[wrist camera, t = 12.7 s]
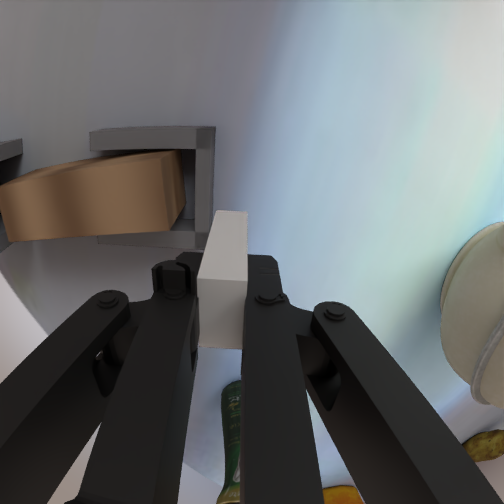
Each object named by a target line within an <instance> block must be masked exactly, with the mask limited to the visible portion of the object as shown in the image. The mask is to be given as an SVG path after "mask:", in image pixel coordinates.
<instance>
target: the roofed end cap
mask: <svg viewBox="0 0 504 504" xmlns="http://www.w3.org/2000/svg"><path fill="white" fill-rule="evenodd" d="M22 153H23V151H22V139H16V140H10V141H4V142H0V161H2V160H5V159H8V158H11V157H13V156H16V155H19V154H22ZM12 243H14V242H9V240H8V236H7V233H6V229H5V226H4V222H3V218H2V215H0V253H1V252H2V251H3V250H5V249H6V248H7V247H9V246H10V245H11V244H12Z"/></svg>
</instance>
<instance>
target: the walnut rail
mask: <svg viewBox="0 0 504 504" xmlns="http://www.w3.org/2000/svg"><path fill="white" fill-rule="evenodd" d="M185 204H186V197H185V187H184V178H183V167H182V156H181V149H153V150H145V151H137V152H129V153H122V154H116V155H109V156H103V157H97V158H91V159H85V160H80V161H75V162H69V163H64V164H59V165H55V166H50V167H45V168H41V169H36V170H34V171H31V172H29V173H27V174H25V175H22V176H20V177H18V178H16V179H13V180H11V181H9V182H7V183H5V184H3V185H1V186H0V210H1V214H2V218H3V222H4V226H5V229H6V233H7V236H8V240H9V242H18V241H29V240H41V239H53V238H66V237H80V236H94V235H108V234H123V233H139V232H156V231H169V230H170V229H171V227H172V225H173V224H174V222H175V220H176V219H177V217H178V215H179V214H180V212H181V210H182V209H183V207H184V205H185Z"/></svg>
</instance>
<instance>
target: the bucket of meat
mask: <svg viewBox="0 0 504 504" xmlns="http://www.w3.org/2000/svg"><path fill="white" fill-rule="evenodd" d="M322 490H323V496H324V503H325V504H363V501H362V499H361V497H360V495H359V493H358V491H357V489H356V488H355V487H353V486H345V485H340V486H334V487H328V488H324V489H322Z"/></svg>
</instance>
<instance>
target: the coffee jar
mask: <svg viewBox="0 0 504 504" xmlns="http://www.w3.org/2000/svg"><path fill="white" fill-rule="evenodd" d="M221 413H222V426H223V436H224V449H225V482H224V486H223V489H222V491H221V493H220V495H219V497H218V499H217V503H216V504H240V426H241V380H240V381H236V382H233V383H231V384H229V385H228V386H226V387H225V388H224V390H223V392H222V396H221Z"/></svg>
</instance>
